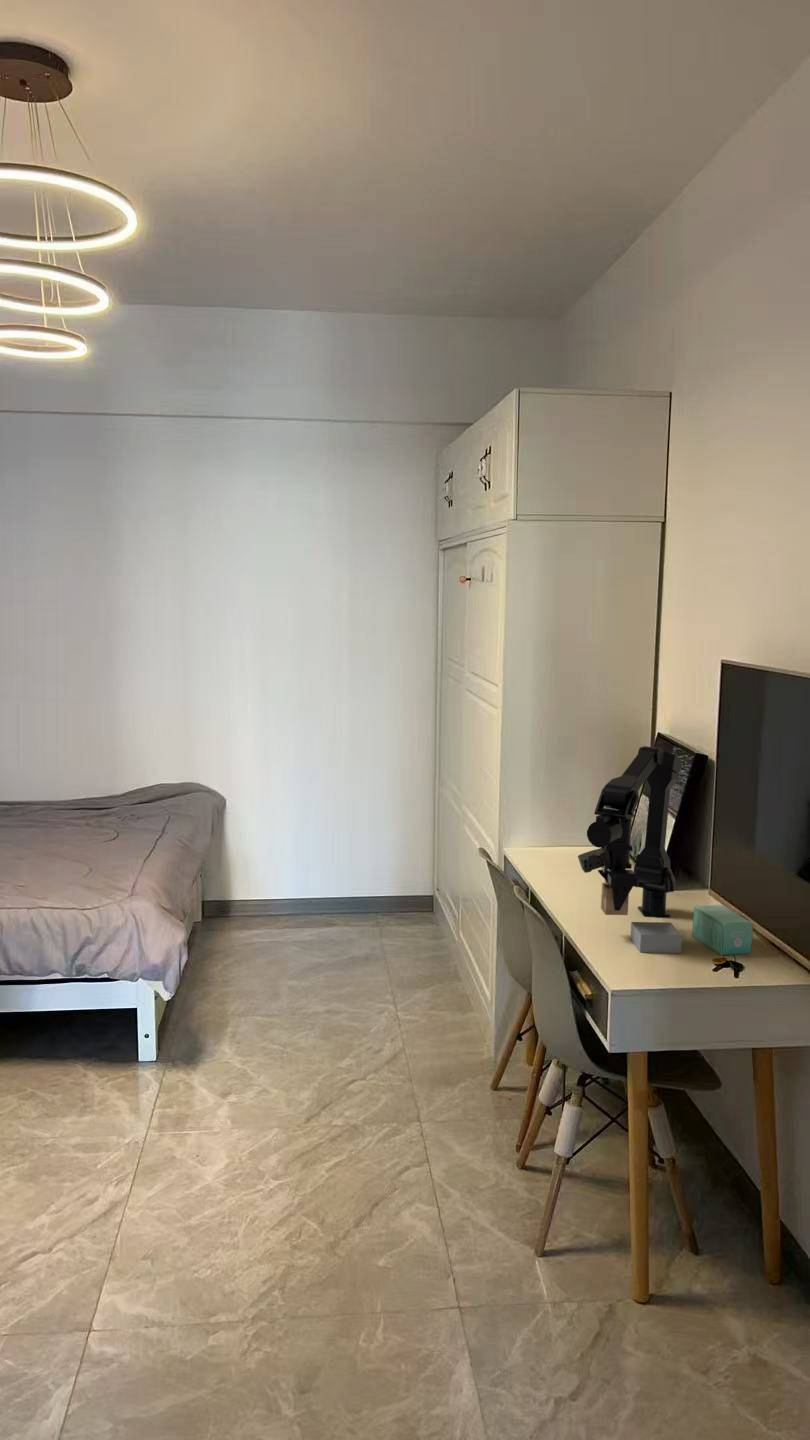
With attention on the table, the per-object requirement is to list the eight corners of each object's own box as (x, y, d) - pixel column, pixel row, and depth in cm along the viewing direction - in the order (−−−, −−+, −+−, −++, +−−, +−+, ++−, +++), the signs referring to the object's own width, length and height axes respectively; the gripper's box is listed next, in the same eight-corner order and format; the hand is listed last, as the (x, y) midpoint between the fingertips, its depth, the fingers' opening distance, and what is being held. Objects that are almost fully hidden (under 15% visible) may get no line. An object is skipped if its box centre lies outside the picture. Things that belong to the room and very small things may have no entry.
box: (721, 956, 234) (724, 922, 234) (690, 937, 247) (692, 905, 247) (752, 954, 236) (754, 921, 235) (719, 935, 249) (721, 904, 248)
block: (600, 908, 248) (602, 882, 247) (622, 908, 248) (623, 883, 247) (605, 914, 243) (606, 888, 242) (627, 915, 243) (628, 889, 242)
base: (630, 939, 245) (631, 921, 244) (669, 939, 245) (670, 922, 244) (640, 952, 236) (640, 934, 235) (681, 952, 236) (681, 935, 235)
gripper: (574, 829, 252) (571, 894, 254) (590, 848, 234) (587, 918, 236) (621, 830, 253) (618, 895, 254) (641, 849, 234) (637, 919, 236)
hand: (614, 906), depth 245 cm, fingers closed on block, 5 cm apart
